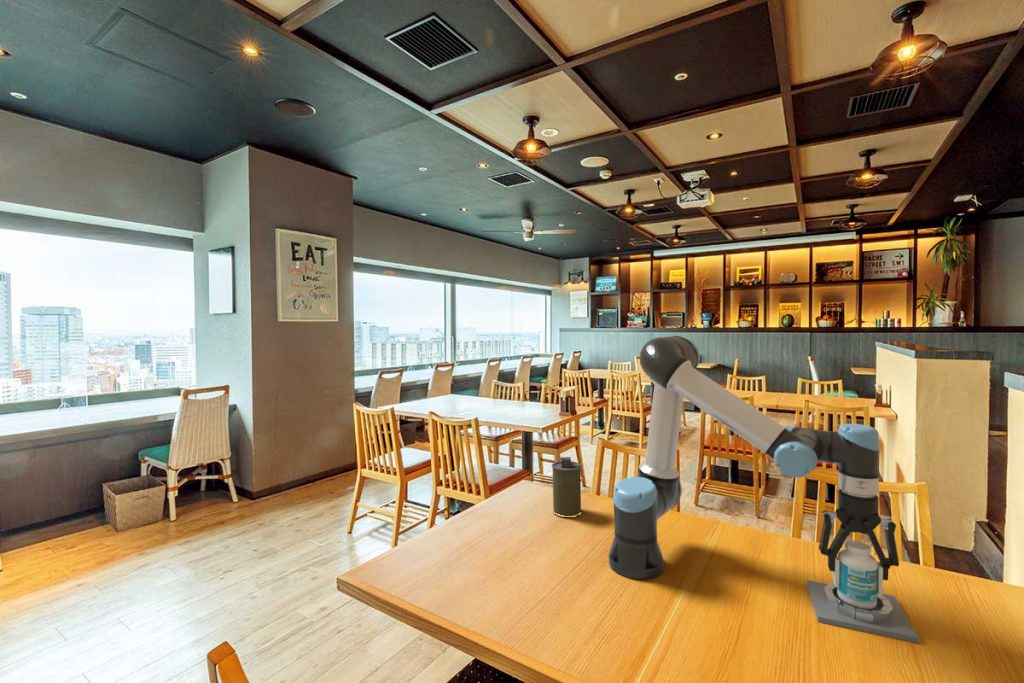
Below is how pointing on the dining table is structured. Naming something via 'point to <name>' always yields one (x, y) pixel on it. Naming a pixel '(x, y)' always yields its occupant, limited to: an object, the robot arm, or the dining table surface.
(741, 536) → the dining table surface
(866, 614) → the collar
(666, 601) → the dining table surface
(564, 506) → the canister
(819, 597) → the board
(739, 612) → the dining table surface
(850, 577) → the pill bottle
